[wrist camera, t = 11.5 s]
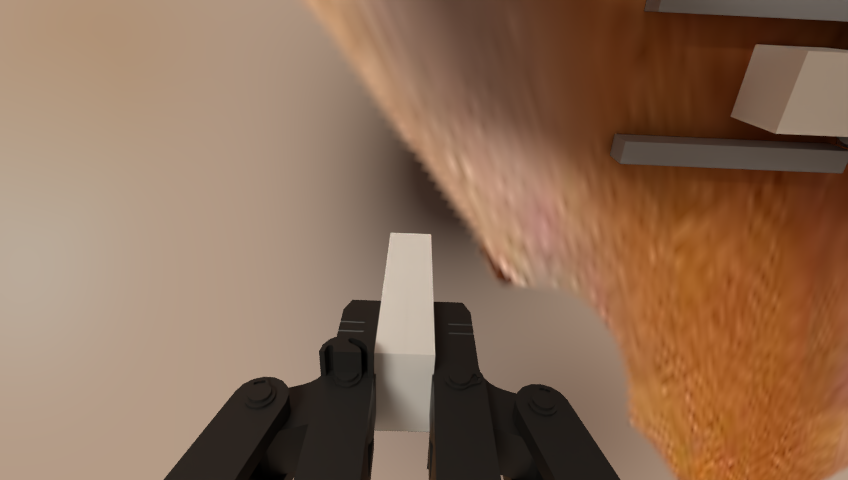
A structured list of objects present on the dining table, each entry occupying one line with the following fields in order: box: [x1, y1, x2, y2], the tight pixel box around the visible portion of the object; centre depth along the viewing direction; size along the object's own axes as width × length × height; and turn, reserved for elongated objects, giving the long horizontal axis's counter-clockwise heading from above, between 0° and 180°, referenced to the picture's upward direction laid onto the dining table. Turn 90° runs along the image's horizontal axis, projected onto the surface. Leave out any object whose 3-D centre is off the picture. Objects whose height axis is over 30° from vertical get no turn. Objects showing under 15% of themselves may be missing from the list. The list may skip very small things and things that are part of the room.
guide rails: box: [610, 0, 848, 173], centre depth 39 cm, size 14×20×2 cm
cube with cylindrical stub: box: [730, 44, 848, 137], centre depth 37 cm, size 6×8×6 cm
